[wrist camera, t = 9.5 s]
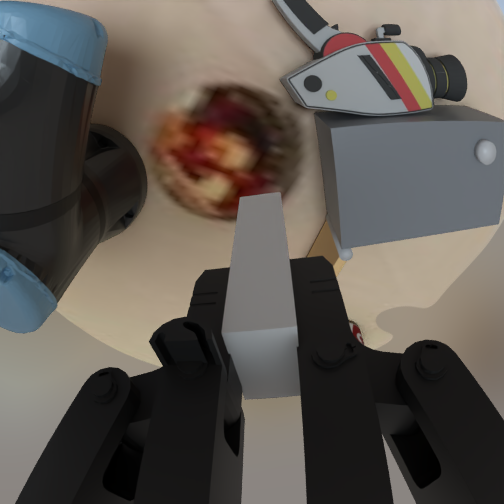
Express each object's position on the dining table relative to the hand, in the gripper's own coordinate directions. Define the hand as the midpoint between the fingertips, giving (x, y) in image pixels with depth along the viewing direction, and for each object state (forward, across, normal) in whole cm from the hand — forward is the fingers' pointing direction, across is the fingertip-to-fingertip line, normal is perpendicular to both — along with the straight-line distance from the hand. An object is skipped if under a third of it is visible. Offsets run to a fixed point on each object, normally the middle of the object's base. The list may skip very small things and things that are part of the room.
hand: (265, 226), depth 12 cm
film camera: (+24, +12, +8) cm, 28 cm away
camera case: (+24, +17, -5) cm, 30 cm away
